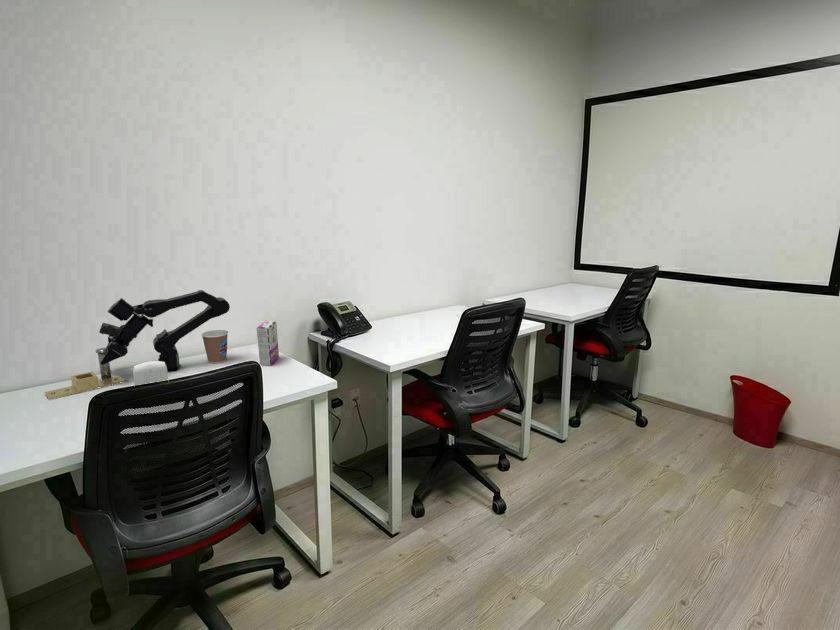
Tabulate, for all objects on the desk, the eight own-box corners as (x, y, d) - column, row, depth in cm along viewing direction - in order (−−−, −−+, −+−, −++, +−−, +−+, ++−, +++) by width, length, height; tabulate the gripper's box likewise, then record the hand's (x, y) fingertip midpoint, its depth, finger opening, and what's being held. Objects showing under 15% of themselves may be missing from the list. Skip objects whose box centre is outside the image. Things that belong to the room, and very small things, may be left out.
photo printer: (169, 390, 171) (165, 357, 168) (170, 395, 168) (166, 361, 165) (135, 397, 166) (131, 362, 163) (136, 401, 162) (131, 366, 159)
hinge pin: (115, 376, 184) (110, 347, 182) (110, 380, 180) (105, 350, 178) (103, 377, 184) (98, 348, 181) (97, 381, 180) (93, 351, 177)
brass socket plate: (118, 377, 183) (117, 366, 182) (124, 382, 178) (122, 370, 177) (45, 394, 167) (42, 381, 166) (49, 399, 162) (46, 387, 161)
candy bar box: (267, 357, 208) (265, 320, 204) (279, 357, 208) (277, 320, 204) (258, 366, 197) (256, 327, 193) (271, 366, 197) (268, 327, 193)
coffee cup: (224, 364, 198) (221, 336, 195) (199, 364, 198) (196, 336, 196) (234, 356, 208) (232, 330, 205) (211, 356, 208) (208, 329, 206)
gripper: (112, 310, 186) (82, 341, 183) (112, 320, 171) (79, 355, 168) (138, 327, 192) (109, 358, 189) (140, 339, 177) (109, 372, 174)
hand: (101, 360), depth 180 cm, fingers open, 9 cm apart
